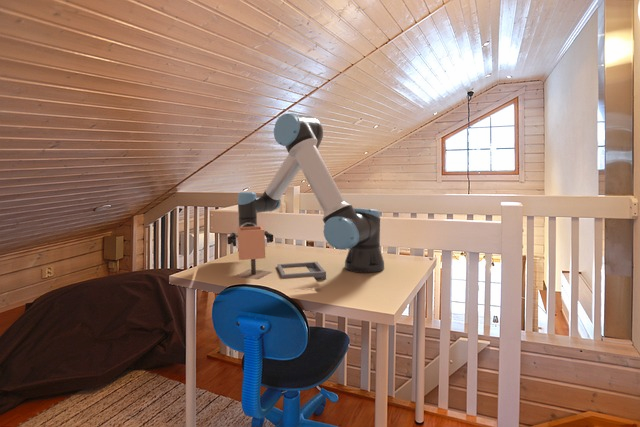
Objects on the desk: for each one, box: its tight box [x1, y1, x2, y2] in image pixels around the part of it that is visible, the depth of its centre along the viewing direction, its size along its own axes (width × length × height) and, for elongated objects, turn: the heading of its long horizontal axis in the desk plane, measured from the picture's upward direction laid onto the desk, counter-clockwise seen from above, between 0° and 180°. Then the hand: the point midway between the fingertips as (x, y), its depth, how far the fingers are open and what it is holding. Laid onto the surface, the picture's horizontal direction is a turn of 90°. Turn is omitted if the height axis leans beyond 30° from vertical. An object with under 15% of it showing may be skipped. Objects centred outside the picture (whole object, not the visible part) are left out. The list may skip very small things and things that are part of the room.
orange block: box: [236, 225, 266, 261], centre depth 140 cm, size 9×9×10 cm
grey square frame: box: [276, 261, 327, 281], centre depth 145 cm, size 15×15×2 cm
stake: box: [233, 259, 273, 280], centre depth 141 cm, size 10×10×15 cm
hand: (251, 243), depth 136 cm, fingers closed on orange block, 9 cm apart
